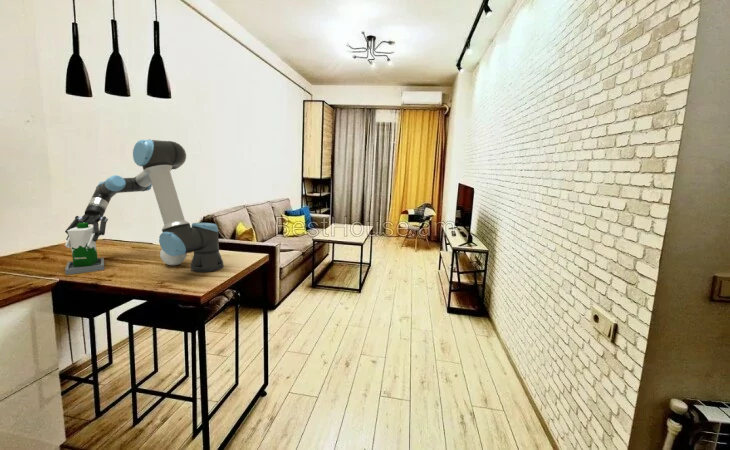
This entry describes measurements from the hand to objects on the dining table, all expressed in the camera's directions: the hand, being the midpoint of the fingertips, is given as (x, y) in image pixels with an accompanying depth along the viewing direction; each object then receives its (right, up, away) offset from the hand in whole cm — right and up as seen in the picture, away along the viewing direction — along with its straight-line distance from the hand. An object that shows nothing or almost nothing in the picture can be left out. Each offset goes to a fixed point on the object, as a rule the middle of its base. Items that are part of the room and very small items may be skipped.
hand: (78, 246), depth 159 cm
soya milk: (-1, -9, +5) cm, 11 cm away
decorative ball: (+37, -11, +15) cm, 41 cm away
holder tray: (-1, -11, +5) cm, 12 cm away
